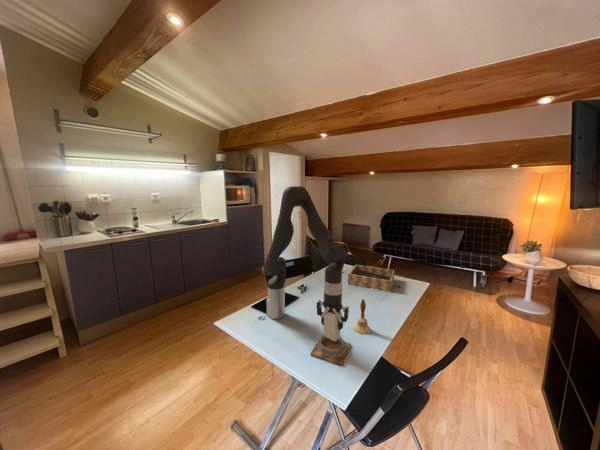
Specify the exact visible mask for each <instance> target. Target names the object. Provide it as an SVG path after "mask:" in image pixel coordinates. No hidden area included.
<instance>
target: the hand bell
mask: <svg viewBox="0 0 600 450" xmlns="http://www.w3.org/2000/svg"><path fill="white" fill-rule="evenodd" d="M366 307H367V306H366V300H365V298H364V299H361V301H360V305H359V308H360V317H358V319H357V322H356V324H355V325H354V326H353V330H354V331H355V332H356V333H357V334H361V335H367V334H370V333H371V327H370V326H369V324H368V319H367V318H365V311H366Z"/></svg>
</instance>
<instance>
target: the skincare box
mask: <svg viewBox="0 0 600 450" xmlns="http://www.w3.org/2000/svg"><path fill="white" fill-rule="evenodd" d="M338 314H340V312H338ZM323 335H324V336H325V337H327V338H329V339H331V340H333V341H337V340H338V339H339V338H340V336H341V330H339V319H338V318H337V315H336V314H335V313H332V312H327V313H326V314H324V326H323Z"/></svg>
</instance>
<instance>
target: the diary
mask: <svg viewBox="0 0 600 450" xmlns="http://www.w3.org/2000/svg"><path fill="white" fill-rule="evenodd" d="M355 275H360V276H366V277H372V278H378V279H384V280H390V278H391V277H389V276H383V275H378V274H374V273H370V272H366V271H361V270H359V271H358V272H357V273H356V274H355Z"/></svg>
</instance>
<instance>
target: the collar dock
mask: <svg viewBox="0 0 600 450" xmlns="http://www.w3.org/2000/svg"><path fill="white" fill-rule="evenodd" d="M351 346H352V343H350V342H347V341H345V340H344V339H343V337H342V336H341V335H340V338H339V339H338V340H337V341H333V340H331V339H329V338H327V337H325V336H324V334H322V335H321V336H320V337H319V339H318V340H317V342H316V344H315V345H314V347H313V349H312V350H311V352H310V356H311V357H314V358H317V359H320V360H323V361H326V362H329V363H331V364H335V365H337V366H341V367H343V366H344V364H345V361H346V359H347V356H348V354H349V351H350V348H351Z"/></svg>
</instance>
